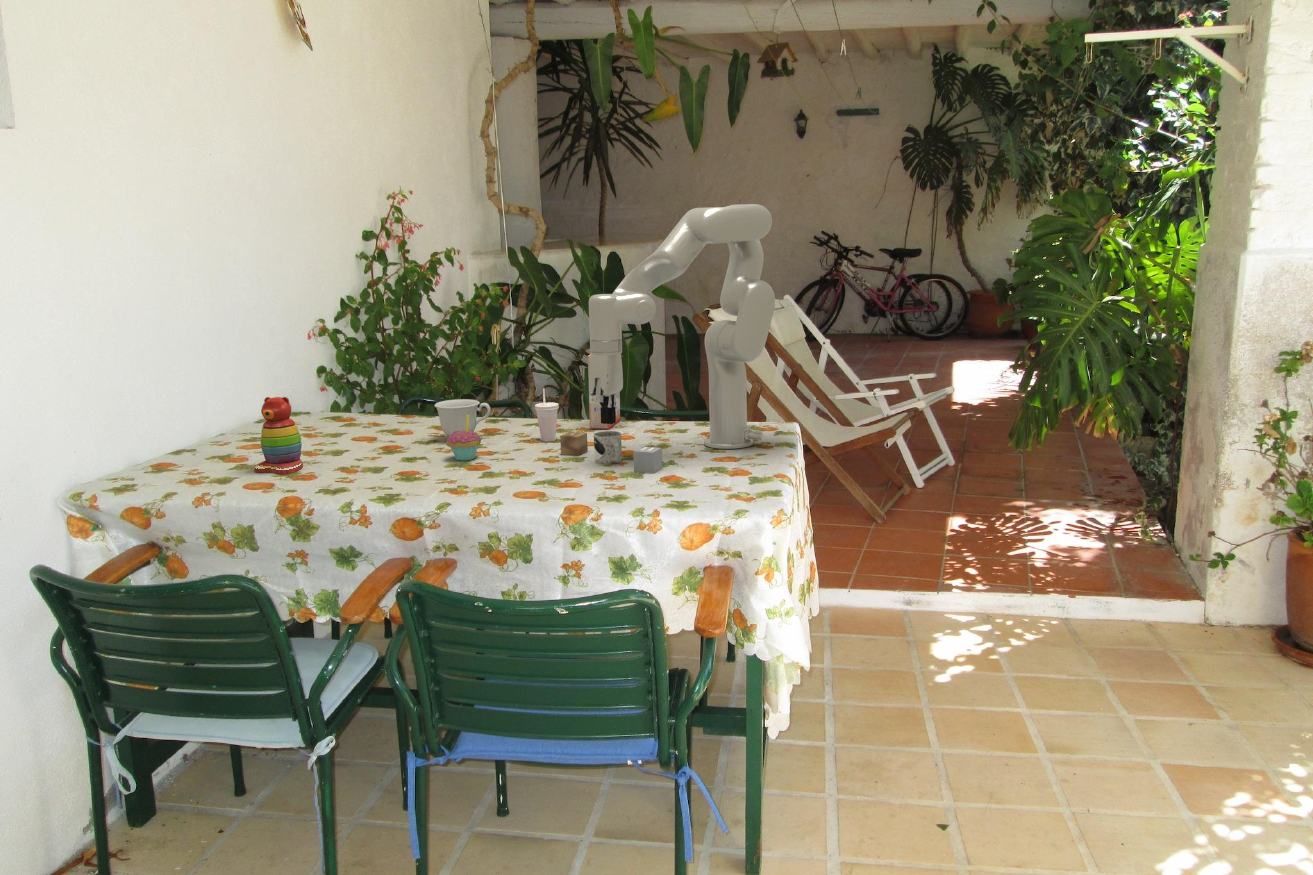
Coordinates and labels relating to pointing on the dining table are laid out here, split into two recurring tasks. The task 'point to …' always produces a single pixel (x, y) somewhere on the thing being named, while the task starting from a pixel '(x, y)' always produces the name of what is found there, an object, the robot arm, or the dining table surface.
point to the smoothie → (547, 419)
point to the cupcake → (464, 443)
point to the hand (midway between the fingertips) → (608, 423)
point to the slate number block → (647, 459)
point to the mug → (607, 447)
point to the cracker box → (596, 411)
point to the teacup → (459, 414)
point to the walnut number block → (573, 443)
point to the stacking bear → (279, 437)
